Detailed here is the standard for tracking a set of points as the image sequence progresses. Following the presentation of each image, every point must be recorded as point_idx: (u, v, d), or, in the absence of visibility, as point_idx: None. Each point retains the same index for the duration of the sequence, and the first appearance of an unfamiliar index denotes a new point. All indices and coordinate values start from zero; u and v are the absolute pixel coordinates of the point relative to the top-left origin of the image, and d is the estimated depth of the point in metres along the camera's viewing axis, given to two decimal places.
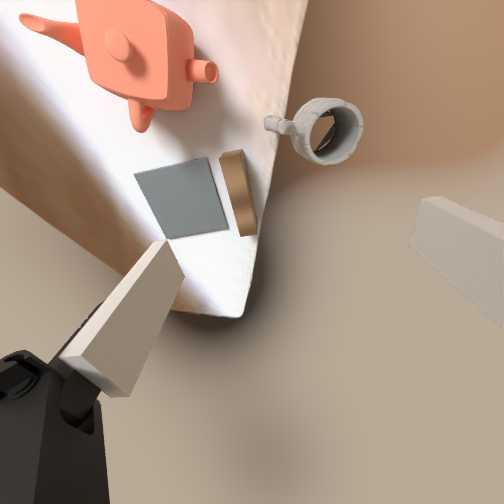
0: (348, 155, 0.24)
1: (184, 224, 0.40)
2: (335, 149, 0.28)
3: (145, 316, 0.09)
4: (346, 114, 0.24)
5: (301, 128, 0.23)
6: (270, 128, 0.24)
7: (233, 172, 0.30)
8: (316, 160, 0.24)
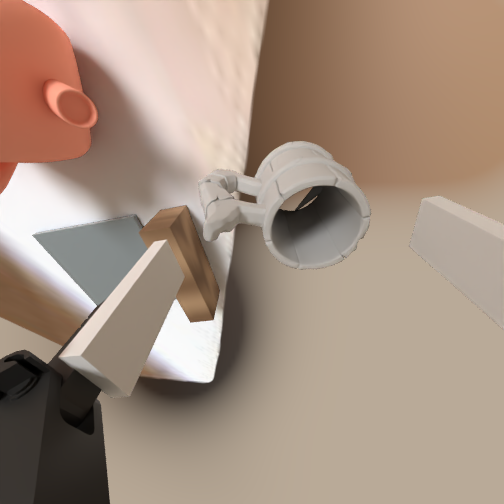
0: (341, 257, 0.13)
1: None
2: (322, 225, 0.17)
3: (145, 316, 0.09)
4: None
5: (254, 215, 0.12)
6: (203, 206, 0.13)
7: None
8: (285, 263, 0.14)
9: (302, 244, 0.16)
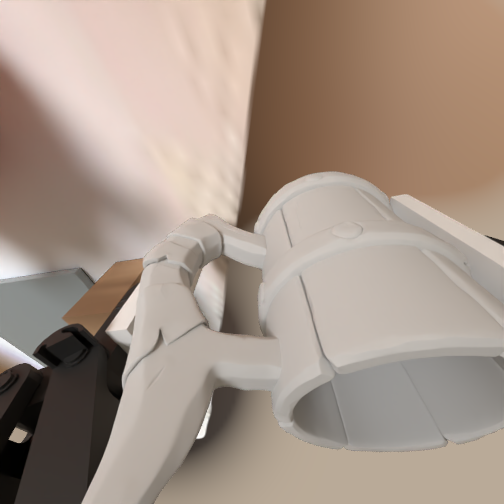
0: (444, 442, 0.06)
1: None
2: None
3: None
4: None
5: (252, 380, 0.05)
6: None
7: None
8: (318, 444, 0.06)
9: None
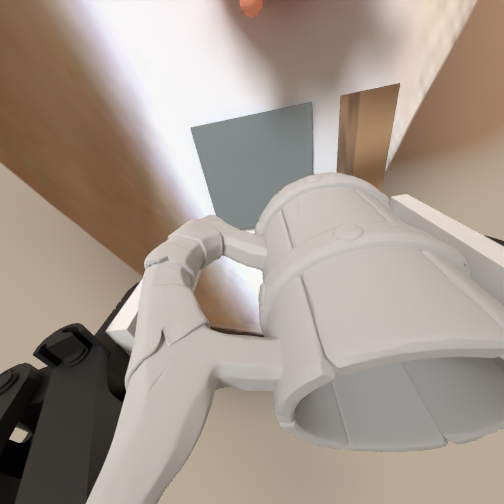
0: (444, 442, 0.06)
1: (251, 211, 0.27)
2: None
3: None
4: None
5: (253, 380, 0.05)
6: None
7: (377, 119, 0.18)
8: (319, 444, 0.06)
9: None
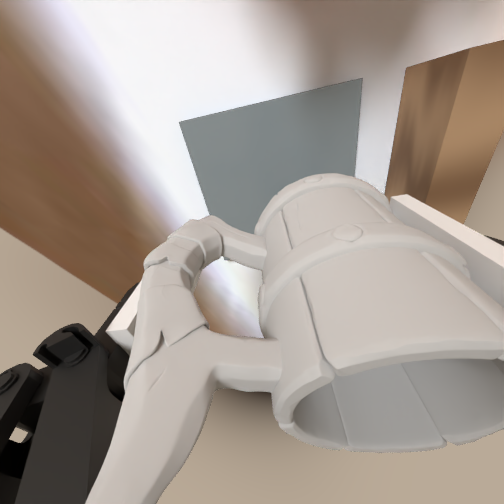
0: (443, 443, 0.06)
1: None
2: None
3: None
4: None
5: (252, 381, 0.05)
6: None
7: (487, 99, 0.10)
8: (318, 445, 0.06)
9: None
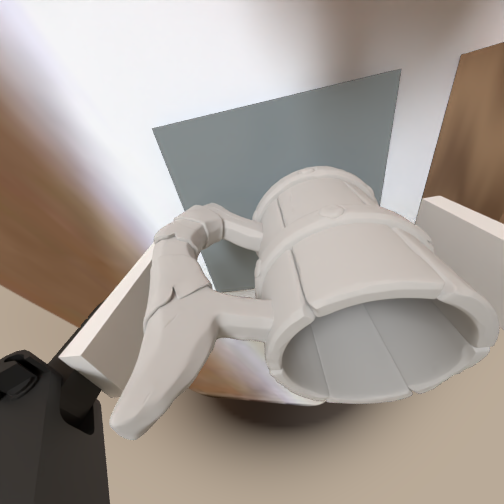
0: (409, 393, 0.07)
1: None
2: None
3: None
4: None
5: (249, 330, 0.06)
6: None
7: None
8: (304, 396, 0.07)
9: (327, 335, 0.10)
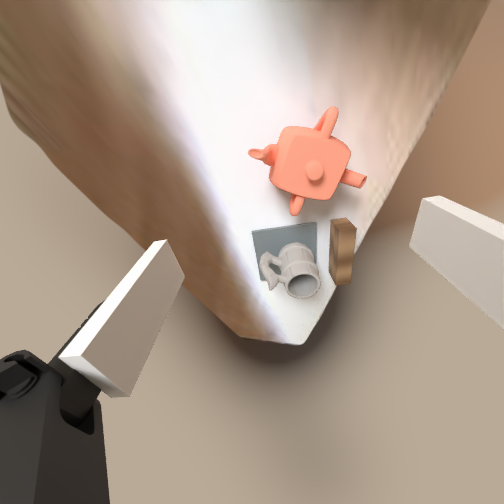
0: (311, 294, 0.38)
1: (280, 270, 0.47)
2: (306, 278, 0.41)
3: (145, 316, 0.09)
4: None
5: (282, 280, 0.36)
6: (263, 274, 0.38)
7: (347, 240, 0.38)
8: (291, 295, 0.38)
9: (298, 287, 0.40)
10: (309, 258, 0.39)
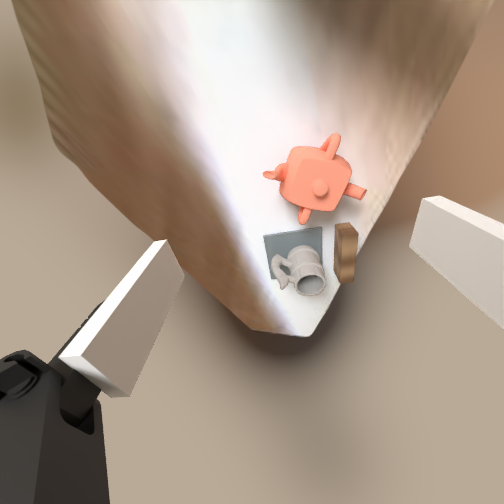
0: (318, 292, 0.42)
1: None
2: (313, 278, 0.46)
3: (145, 316, 0.09)
4: None
5: (292, 280, 0.41)
6: (275, 275, 0.42)
7: (350, 244, 0.42)
8: (300, 293, 0.43)
9: (305, 285, 0.45)
10: (315, 260, 0.44)
